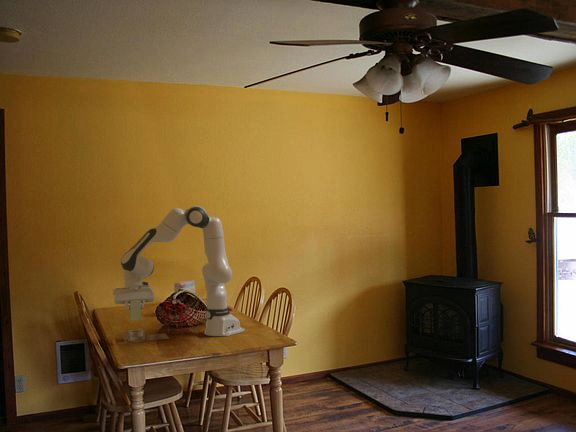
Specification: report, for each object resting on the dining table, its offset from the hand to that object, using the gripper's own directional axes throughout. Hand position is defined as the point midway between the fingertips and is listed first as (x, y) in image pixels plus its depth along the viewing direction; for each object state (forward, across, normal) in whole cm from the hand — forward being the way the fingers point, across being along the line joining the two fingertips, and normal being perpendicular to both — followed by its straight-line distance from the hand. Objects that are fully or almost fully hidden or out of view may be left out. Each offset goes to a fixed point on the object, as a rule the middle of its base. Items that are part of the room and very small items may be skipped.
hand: (135, 308), depth 279 cm
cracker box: (-30, +38, +55) cm, 73 cm away
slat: (+4, 0, +5) cm, 6 cm away
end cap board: (+12, +5, +13) cm, 18 cm away
